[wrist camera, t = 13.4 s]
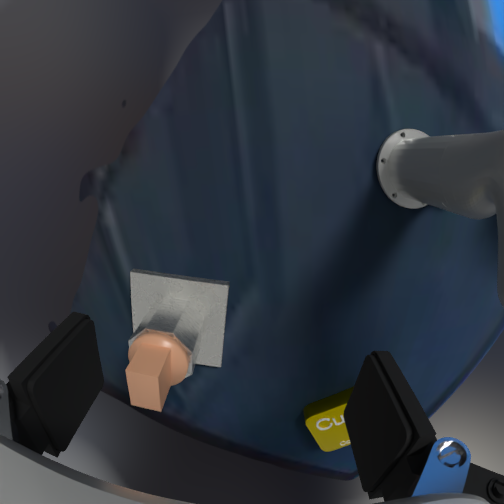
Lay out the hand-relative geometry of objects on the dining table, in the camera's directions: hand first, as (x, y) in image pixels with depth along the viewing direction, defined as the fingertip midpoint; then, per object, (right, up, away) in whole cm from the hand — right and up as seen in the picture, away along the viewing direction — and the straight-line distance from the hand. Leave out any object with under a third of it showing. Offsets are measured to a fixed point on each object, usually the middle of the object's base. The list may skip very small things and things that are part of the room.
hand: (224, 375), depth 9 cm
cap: (-12, -10, +32) cm, 36 cm away
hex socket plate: (-12, -7, +40) cm, 43 cm away
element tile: (+21, -31, +47) cm, 60 cm away
